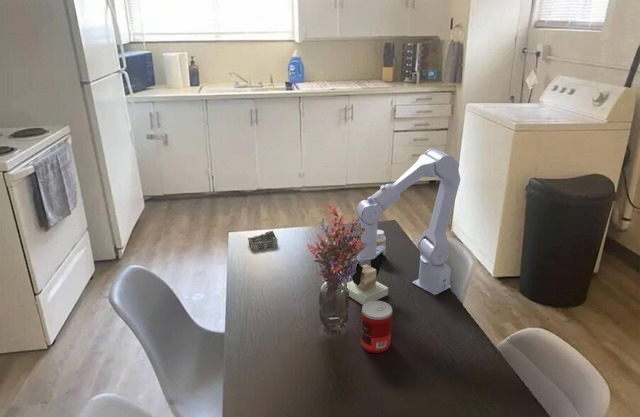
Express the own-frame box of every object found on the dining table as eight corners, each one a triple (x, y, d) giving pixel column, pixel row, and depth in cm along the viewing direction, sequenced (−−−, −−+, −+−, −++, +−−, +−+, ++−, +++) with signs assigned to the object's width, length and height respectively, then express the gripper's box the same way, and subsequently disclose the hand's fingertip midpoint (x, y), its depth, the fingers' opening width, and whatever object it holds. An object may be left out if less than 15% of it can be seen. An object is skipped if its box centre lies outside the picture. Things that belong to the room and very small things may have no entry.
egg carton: (274, 239, 185) (274, 230, 184) (279, 247, 178) (278, 237, 177) (247, 243, 182) (246, 233, 181) (250, 251, 175) (250, 241, 174)
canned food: (394, 340, 126) (397, 305, 122) (382, 357, 120) (384, 321, 115) (368, 331, 130) (370, 297, 126) (355, 347, 123) (356, 312, 119)
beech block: (375, 286, 146) (376, 269, 144) (364, 291, 144) (365, 274, 142) (365, 280, 150) (366, 264, 147) (355, 285, 147) (355, 268, 145)
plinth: (387, 294, 147) (388, 287, 146) (364, 305, 141) (364, 298, 140) (365, 281, 154) (366, 274, 153) (342, 291, 149) (342, 284, 148)
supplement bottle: (366, 256, 171) (367, 230, 168) (379, 252, 174) (380, 227, 170) (375, 262, 167) (376, 236, 163) (387, 259, 169) (389, 233, 165)
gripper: (375, 229, 148) (373, 267, 153) (339, 241, 140) (339, 281, 145) (391, 236, 143) (389, 276, 148) (355, 250, 135) (354, 291, 140)
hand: (365, 279), depth 146 cm, fingers open, 7 cm apart
